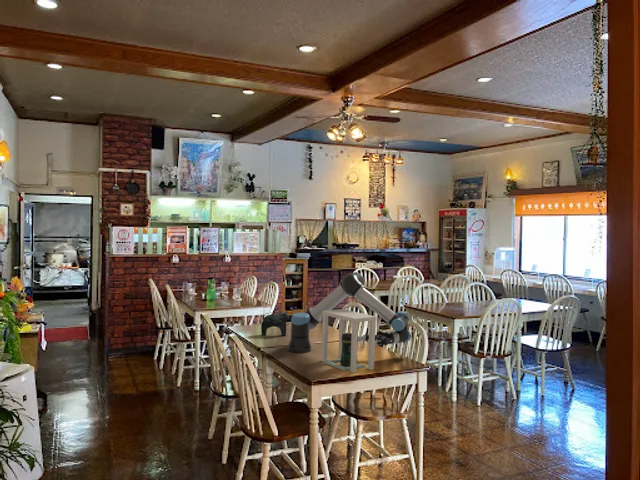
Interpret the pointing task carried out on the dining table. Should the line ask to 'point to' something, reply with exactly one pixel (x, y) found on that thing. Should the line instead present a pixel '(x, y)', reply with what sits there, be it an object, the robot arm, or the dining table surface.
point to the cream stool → (354, 318)
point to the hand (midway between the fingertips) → (364, 341)
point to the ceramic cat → (275, 322)
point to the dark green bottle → (346, 349)
